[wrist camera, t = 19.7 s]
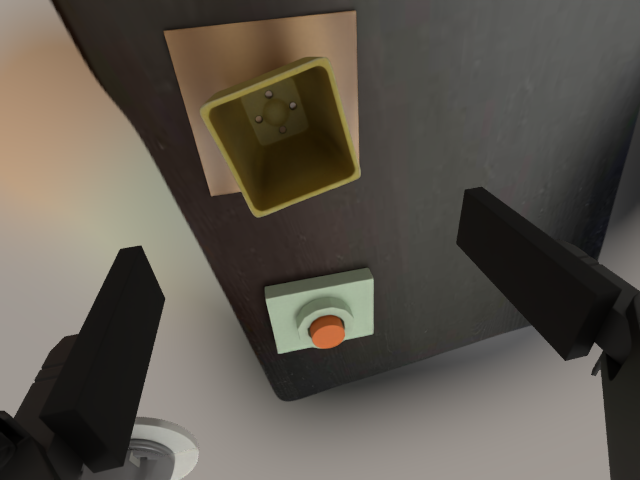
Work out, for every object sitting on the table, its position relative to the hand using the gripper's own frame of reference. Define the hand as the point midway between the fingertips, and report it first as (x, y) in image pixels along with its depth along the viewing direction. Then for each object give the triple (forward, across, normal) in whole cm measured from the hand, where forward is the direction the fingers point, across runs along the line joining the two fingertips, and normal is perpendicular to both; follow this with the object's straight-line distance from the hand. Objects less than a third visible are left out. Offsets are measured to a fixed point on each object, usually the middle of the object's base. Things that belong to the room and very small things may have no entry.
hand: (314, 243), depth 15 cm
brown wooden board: (+21, 0, 0) cm, 21 cm away
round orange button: (+18, +2, -25) cm, 30 cm away
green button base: (+21, +2, -25) cm, 33 cm away
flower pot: (+21, 0, 0) cm, 21 cm away
